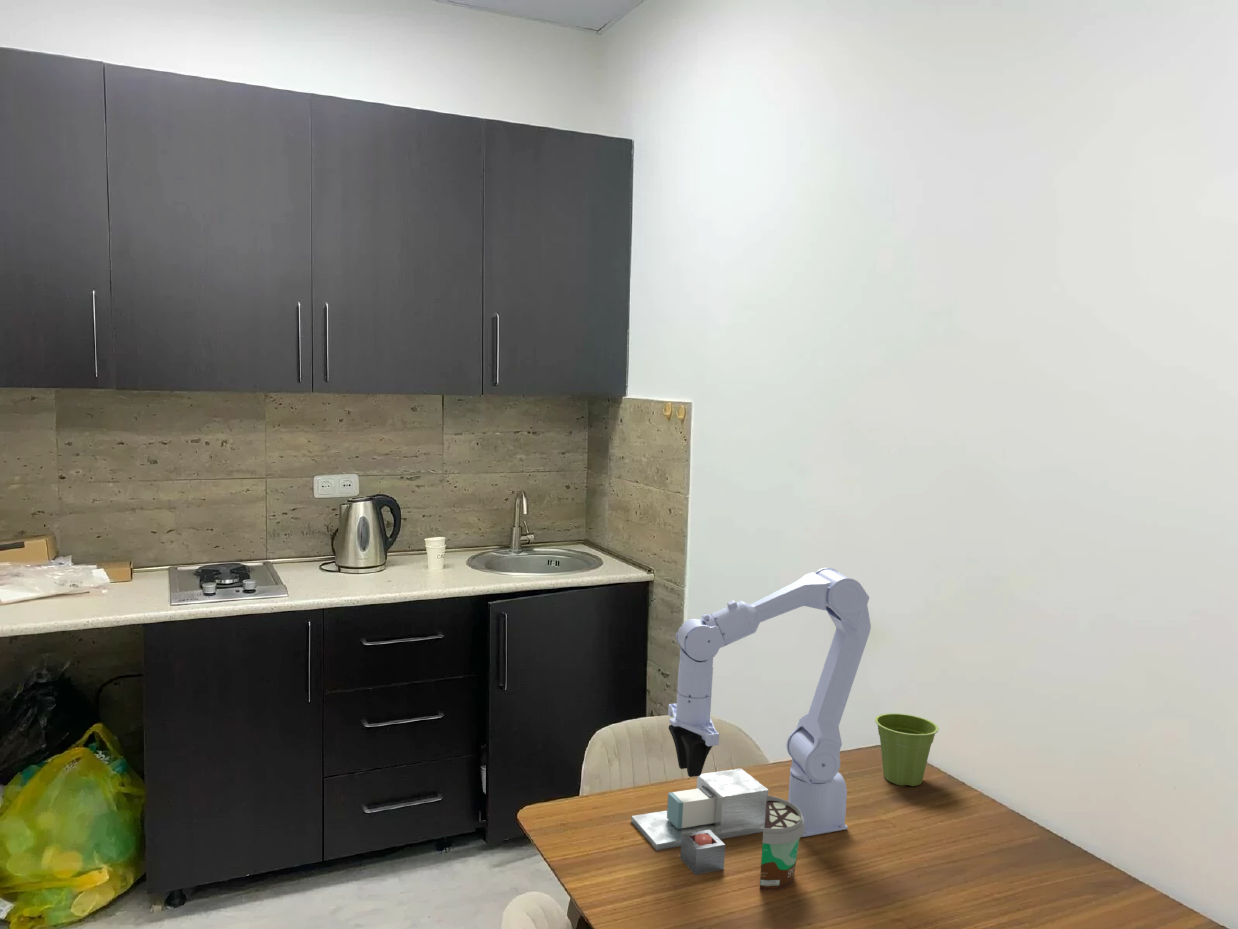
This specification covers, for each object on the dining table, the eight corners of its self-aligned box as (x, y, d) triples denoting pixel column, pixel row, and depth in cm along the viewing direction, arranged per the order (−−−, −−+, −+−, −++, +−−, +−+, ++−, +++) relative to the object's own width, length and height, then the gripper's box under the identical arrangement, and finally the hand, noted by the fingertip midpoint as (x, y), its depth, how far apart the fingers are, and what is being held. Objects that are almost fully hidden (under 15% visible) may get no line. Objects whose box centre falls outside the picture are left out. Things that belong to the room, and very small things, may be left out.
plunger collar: (708, 853, 144) (709, 829, 143) (723, 869, 139) (725, 844, 139) (680, 858, 142) (681, 834, 141) (695, 875, 137) (696, 849, 137)
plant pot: (936, 774, 179) (941, 719, 178) (931, 798, 168) (935, 739, 167) (875, 762, 184) (879, 708, 183) (866, 784, 173) (870, 727, 172)
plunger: (705, 857, 142) (706, 832, 142) (713, 865, 140) (714, 840, 139) (690, 859, 141) (692, 835, 141) (698, 868, 139) (700, 843, 138)
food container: (801, 902, 131) (806, 836, 130) (758, 895, 132) (763, 829, 132) (801, 859, 143) (805, 799, 142) (762, 853, 145) (766, 793, 144)
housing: (738, 804, 161) (740, 767, 161) (768, 831, 152) (771, 791, 152) (631, 821, 153) (633, 782, 152) (656, 850, 144) (658, 808, 143)
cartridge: (737, 806, 158) (739, 781, 157) (749, 817, 154) (751, 791, 154) (666, 818, 152) (668, 791, 152) (677, 829, 149) (679, 802, 148)
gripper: (654, 680, 155) (649, 757, 156) (693, 710, 141) (688, 793, 143) (690, 677, 158) (686, 752, 159) (732, 705, 144) (727, 787, 145)
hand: (689, 771), depth 151 cm, fingers open, 3 cm apart
